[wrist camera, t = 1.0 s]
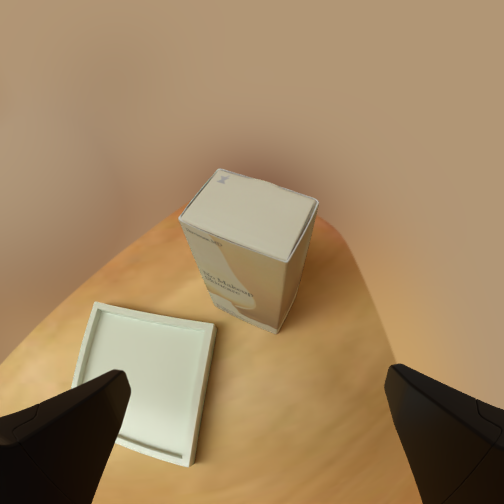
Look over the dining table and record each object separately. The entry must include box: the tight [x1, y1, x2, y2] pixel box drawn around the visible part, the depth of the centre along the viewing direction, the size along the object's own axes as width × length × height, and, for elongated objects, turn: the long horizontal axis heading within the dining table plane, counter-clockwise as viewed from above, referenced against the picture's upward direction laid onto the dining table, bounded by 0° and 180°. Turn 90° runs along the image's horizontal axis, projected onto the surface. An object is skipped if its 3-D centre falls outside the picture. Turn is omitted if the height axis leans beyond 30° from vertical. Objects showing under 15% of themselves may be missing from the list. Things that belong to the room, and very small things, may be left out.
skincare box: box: [179, 169, 319, 334], centre depth 19 cm, size 6×4×12 cm
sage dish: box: [71, 302, 217, 467], centre depth 20 cm, size 12×12×2 cm
